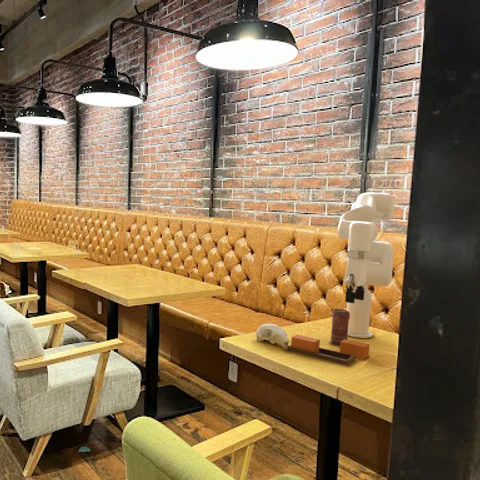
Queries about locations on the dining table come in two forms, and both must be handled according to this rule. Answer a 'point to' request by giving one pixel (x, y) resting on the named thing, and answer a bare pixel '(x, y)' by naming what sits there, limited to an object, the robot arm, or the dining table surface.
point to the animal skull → (272, 334)
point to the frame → (326, 355)
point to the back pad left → (305, 343)
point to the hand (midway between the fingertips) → (354, 301)
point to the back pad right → (354, 348)
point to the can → (339, 326)
